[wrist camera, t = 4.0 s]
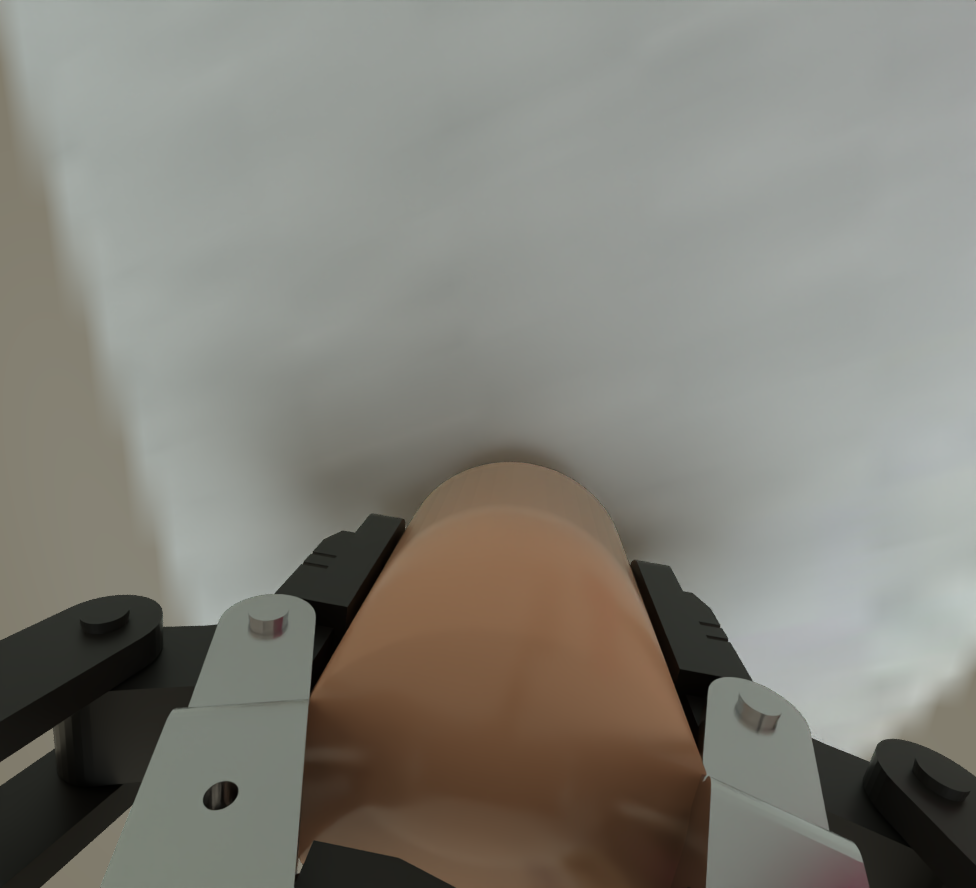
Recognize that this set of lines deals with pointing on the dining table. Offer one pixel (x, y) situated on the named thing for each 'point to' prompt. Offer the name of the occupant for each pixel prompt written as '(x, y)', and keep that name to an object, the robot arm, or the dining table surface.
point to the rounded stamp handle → (504, 700)
